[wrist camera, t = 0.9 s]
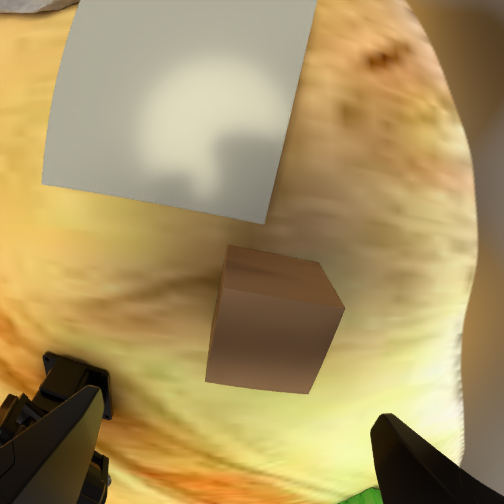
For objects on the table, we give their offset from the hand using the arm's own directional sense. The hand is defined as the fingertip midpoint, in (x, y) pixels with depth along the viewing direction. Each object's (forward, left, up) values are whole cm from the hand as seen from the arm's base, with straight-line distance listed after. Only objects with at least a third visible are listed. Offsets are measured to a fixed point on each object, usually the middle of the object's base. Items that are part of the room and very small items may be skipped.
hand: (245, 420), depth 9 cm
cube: (-2, -2, -13) cm, 13 cm away
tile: (+10, +6, -13) cm, 17 cm away
